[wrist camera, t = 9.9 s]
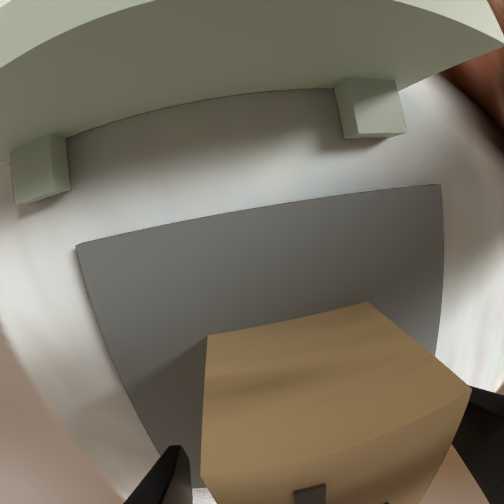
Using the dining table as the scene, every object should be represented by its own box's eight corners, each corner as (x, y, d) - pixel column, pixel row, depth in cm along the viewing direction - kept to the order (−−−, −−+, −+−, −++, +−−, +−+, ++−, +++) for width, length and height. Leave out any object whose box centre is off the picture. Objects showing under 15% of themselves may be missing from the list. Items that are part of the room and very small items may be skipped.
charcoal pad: (413, 427, 13) (416, 432, 13) (182, 482, 12) (182, 488, 12) (433, 184, 10) (440, 184, 10) (81, 243, 9) (75, 245, 9)
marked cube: (363, 413, 12) (419, 505, 6) (239, 443, 11) (253, 555, 5) (367, 301, 10) (475, 391, 4) (207, 335, 10) (200, 479, 4)
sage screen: (409, 137, 10) (529, 116, 4) (16, 209, 9) (-96, 232, 3) (373, 13, 8) (450, -56, 3) (11, 79, 7) (-76, 43, 2)
